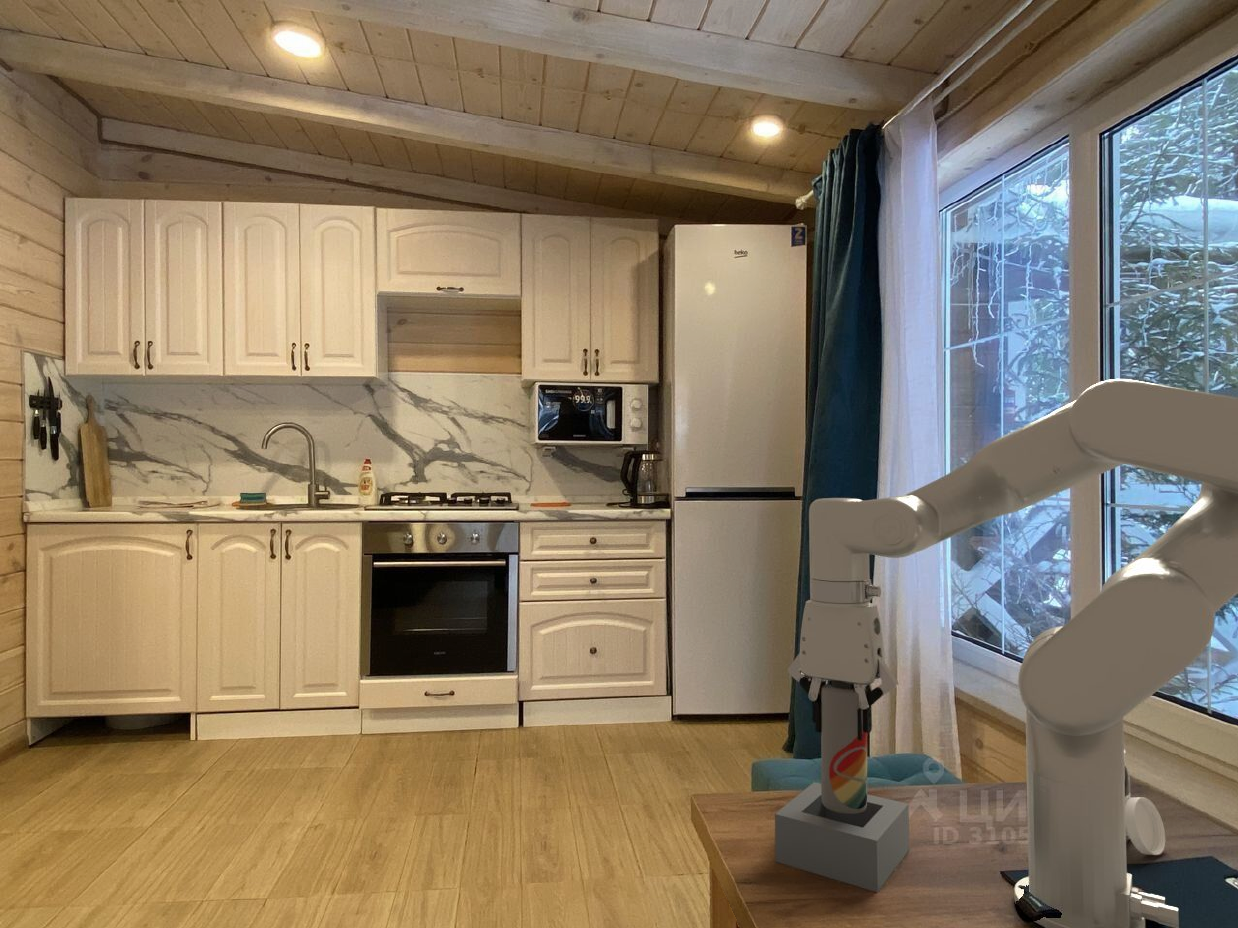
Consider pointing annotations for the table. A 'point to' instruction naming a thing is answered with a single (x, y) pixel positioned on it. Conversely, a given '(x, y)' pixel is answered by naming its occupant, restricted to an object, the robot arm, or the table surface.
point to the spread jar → (1142, 822)
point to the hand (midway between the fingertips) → (841, 731)
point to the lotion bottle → (842, 750)
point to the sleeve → (843, 838)
